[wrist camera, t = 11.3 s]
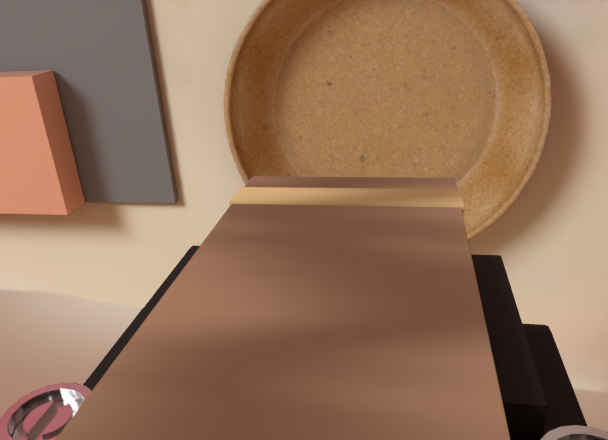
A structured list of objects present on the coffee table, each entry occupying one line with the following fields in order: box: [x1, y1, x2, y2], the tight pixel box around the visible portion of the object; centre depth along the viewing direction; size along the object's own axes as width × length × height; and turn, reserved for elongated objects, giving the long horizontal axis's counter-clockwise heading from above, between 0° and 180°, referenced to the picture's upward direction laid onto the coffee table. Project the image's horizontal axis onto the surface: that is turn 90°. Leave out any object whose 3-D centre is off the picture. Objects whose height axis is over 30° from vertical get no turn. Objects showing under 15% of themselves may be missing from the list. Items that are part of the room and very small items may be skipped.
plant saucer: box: [224, 0, 552, 240], centre depth 26 cm, size 15×15×3 cm
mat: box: [0, 0, 178, 203], centre depth 29 cm, size 17×17×1 cm
